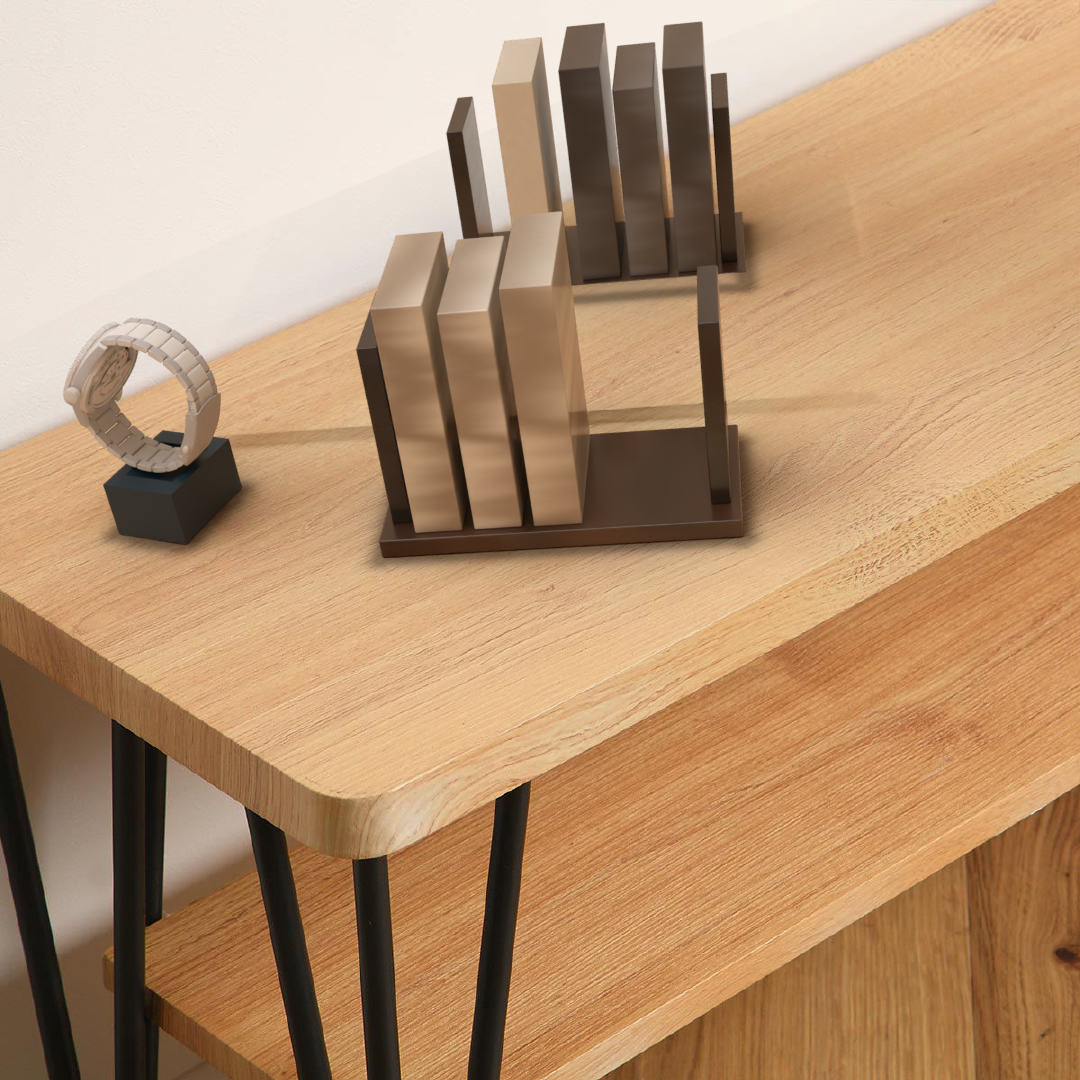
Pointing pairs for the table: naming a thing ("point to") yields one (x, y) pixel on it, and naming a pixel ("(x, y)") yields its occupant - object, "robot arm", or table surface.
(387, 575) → the table surface
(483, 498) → the brown rack
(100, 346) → the watch
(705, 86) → the grey rack
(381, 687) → the table surface
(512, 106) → the beige book
